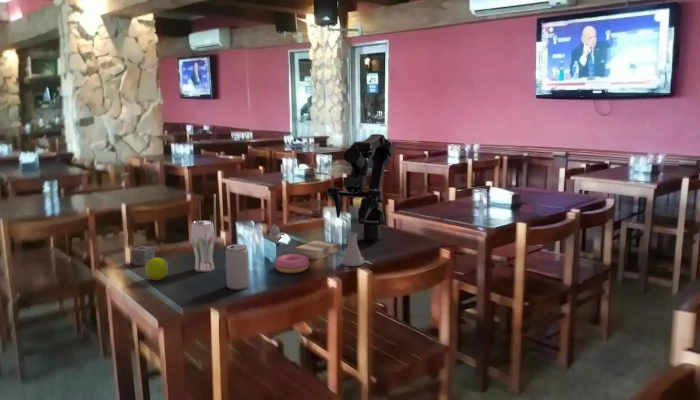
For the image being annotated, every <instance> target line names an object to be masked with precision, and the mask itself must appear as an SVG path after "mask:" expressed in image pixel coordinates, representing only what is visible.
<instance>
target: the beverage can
mask: <svg viewBox="0 0 700 400" xmlns="http://www.w3.org/2000/svg"><path fill="white" fill-rule="evenodd" d="M224 254H225V255H224V256H225V274H226V275H225V277H226V287H227V288H228V289H229V290H234V291H240V290H246V289H247V287H248V286H250V265H249V264H250V263H249V262H250V261H249V260H250V259H249V249H248V245H246V244H243V243H242V244H230V245H227V246H226V250H225V252H224Z"/></svg>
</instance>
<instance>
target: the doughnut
mask: <svg viewBox="0 0 700 400" xmlns="http://www.w3.org/2000/svg"><path fill="white" fill-rule="evenodd" d="M273 265H274V266H275V269H276V270H277V271H278V272H280V273H284V274H297V273H298V274H299V273H302V272H305V271H306V270H307V269H308V268H309V265H310V260H309V259H308V258H307V257H306V256H303V255H300V254H296V253H287V254H283V255H280V256H278V257H277V258H276V259H275V260H274V262H273Z"/></svg>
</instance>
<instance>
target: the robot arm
mask: <svg viewBox="0 0 700 400" xmlns="http://www.w3.org/2000/svg"><path fill="white" fill-rule="evenodd" d="M392 144H393V143H392V142H390V140H388V139H387V138H386V137H385V135H384V134H382V133H380V134H379V133H373V134H370V136H368V138H366V139H364V140H361V141H360V140H359V141H353V143H352V144H351V145H350V147H349V148H347V149H346V150H345V151H344V153H343V159H344V161H345V162H346V164H347V166H348V167H349V169H350V172H349V173H350V174H348V176H346V177H345V176H344V177H343V180H342V187H344V189H345V190H341V188H340V187H339V186H338V187H337V186H329V187H327V189H326V195H327V196H328V198H329V199H330V200H331V201H332V202H333V203H334V206H335V207H334V208H335V213H336V218H338V219H339V218H340V215H341V212H342V206H343V197H345V198H361V200H360V205H359V208H358V210H357V217H358V223H359V225H361V224H363V231H362V233H363V234H362V236H363V237H360V238H359V240H360V241H366V242H372V243H376V242H378V241H380V240H383V239H384V237H383V236H380V226H383V225H385V215H384V211H383V209H382V205H381V204H383V203H384V199H385V198H384V196H385V195H384V194H383V193H382V191H381V189H382V184H383V180H384V174H385V168H386V167H387V166H388V165H389V164H390V163H391V160H392V157H393V156H394V148H393V145H392ZM366 159H367V160H368V159H371V160H372V168H371V174H370V179H369V184H368V190H367V191H365V189H366V185H367V177H368V170H369V169H370V167H369V162H368V161H367V160H366Z"/></svg>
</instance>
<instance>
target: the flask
mask: <svg viewBox="0 0 700 400" xmlns="http://www.w3.org/2000/svg"><path fill="white" fill-rule="evenodd" d="M347 237H348V242H347V246H346V249H345V252H344V255H343V257H342V261H341V264H342V265H343V266H347V267H361V266H362V265H364V260H363V257H362V254H361V252H360V251H361V250H360V249H359V246H358V240H357V239H358V238H357V237H358V233H357V232H348V233H347Z"/></svg>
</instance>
